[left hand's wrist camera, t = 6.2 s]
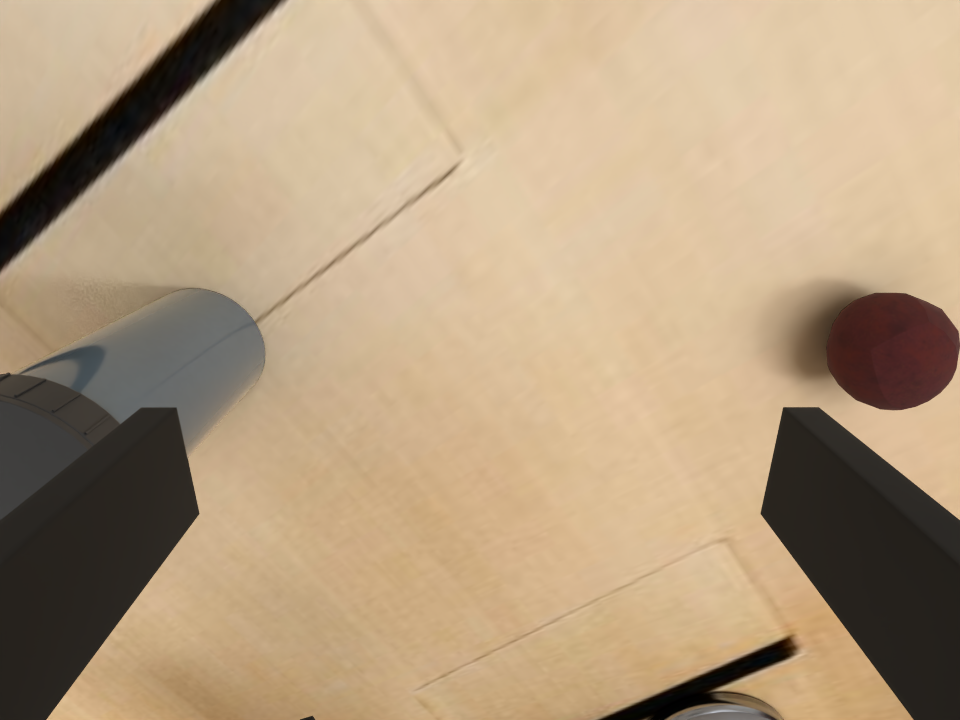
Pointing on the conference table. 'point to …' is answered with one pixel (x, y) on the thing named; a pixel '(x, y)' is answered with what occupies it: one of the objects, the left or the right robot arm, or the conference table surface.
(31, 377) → the lid
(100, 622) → the left robot arm
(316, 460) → the conference table surface
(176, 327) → the jar
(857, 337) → the dark red round ball
